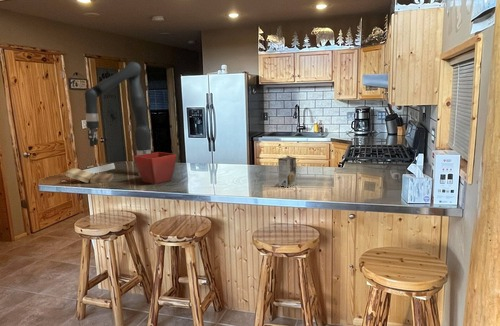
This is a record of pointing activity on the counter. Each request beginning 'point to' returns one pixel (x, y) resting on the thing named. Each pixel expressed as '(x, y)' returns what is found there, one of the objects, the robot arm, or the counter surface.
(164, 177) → the plant pot
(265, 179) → the counter surface
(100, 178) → the wooden block
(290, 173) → the coffee box
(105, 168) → the decorative molding
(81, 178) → the oak plank
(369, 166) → the counter surface
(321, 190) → the counter surface
